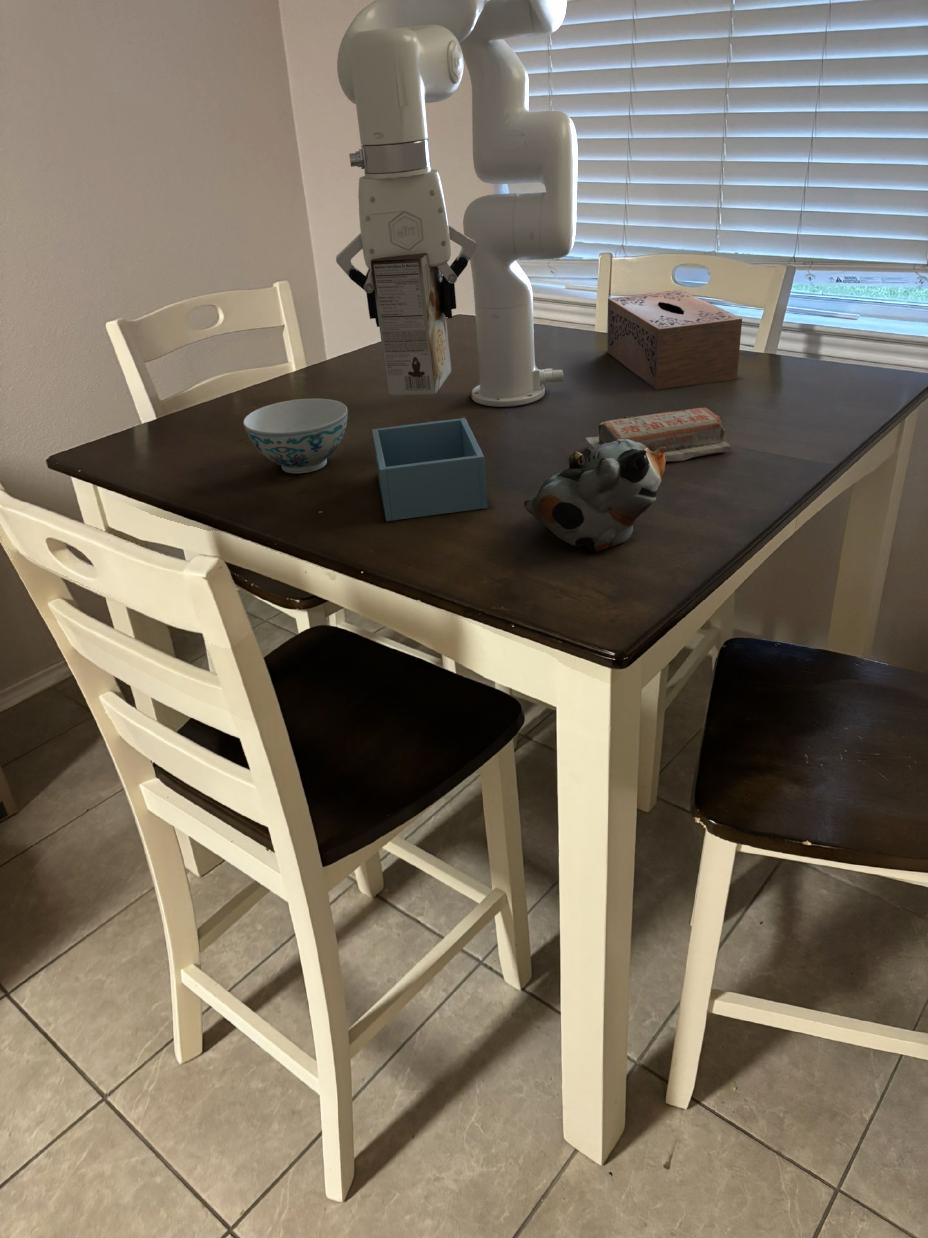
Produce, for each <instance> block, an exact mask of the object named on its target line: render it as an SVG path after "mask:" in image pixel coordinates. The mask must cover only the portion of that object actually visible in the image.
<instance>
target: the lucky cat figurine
mask: <svg viewBox="0 0 928 1238" xmlns="http://www.w3.org/2000/svg"><path fill="white" fill-rule="evenodd" d="M665 452H666V447H660V448H658V449H657V450H655V451H654V452H652V451H651V450H649V449H648V448H647V447H646V446H645V445H643V444H642V443H639V442H634V441H632V440H628V439H618V440H617V441H613V442H610V443H605V444H602V445H600V446H599V447H597V449H595V450H593V451H592V452H591V451H590V454H589V455H588V456H587V458H586V461H585V456H584V454H583V453H581V452H579V451H575V452H574V453H572V454H571V455H570V456H569V457H568V464H569V466H568V467H567V468H565V469H563V470H562V471H559V472H555V473H553V474H551V475H550V476H549V477H548V478H546V479H545V480H544V482H543V483H542V485H541V487H540V488H539V490H538V492H537V494H536V495H535V496H534V497H530V498H528V499H526V500H524V503H523V504H524V505H523V506H524V508H525V510H526V511H527V512H528V513H529V514H530V515H531V516H532V517H533V518H535V519H536V520H537V521H538V522H540V523H541V524H542V525H543V526H545V527H546V528H547V529H548V530H549V531H550V532H551V533H552V534H553V535H555V536H556V537H557V538H559V539H561V540H563V541H564V542H565V543H567V544H569V545H571V546H573V547H577V548H578V547H581V546H586V548H587V549H588V551H589V552H590V553H591V552H594V553H599V552H601V551H604V550H606V549H609V548H612V547H614V546H617V545H620V544H623V543H625V542H627V541H629V539H630V538H631V536H632V534H633V533H634V524H635V521H636V520H637V518H638V517H639V516H641V514H642V513H644V512H647V511H648V509H649V508H650V507H651V506H652V505H653V504H654V503H655V502H656V501H657V491H658V489H659V487H660V485H661V483H662V477H663V475H664V473H665V470H666V462H665V456H664V453H665Z"/></svg>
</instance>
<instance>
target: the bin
mask: <svg viewBox="0 0 928 1238" xmlns="http://www.w3.org/2000/svg"><path fill="white" fill-rule="evenodd" d="M371 435H372V441H373V450H374V457H375V463H376V473H377V479H378V483H379V490H380V495H381V500H382V506H383V511H384V517H385V521H386V522H392V521H399V520H406V519H407V520H408V519H414V518H421V517H422V518H423V517H429V516H436V515H444V514H451V513H452V514H453V513H458V512H467V511H474V510H476V511H477V510H481V509H483V510H484V509H488V496H487V495H488V494H487V481H486V466H485V465H486V464H485V456H484V454H483V451H482V449H481V448H480V445H479V444H478V441H477V439H476V437H475V435H474V433H473V431H472V429H471V426H470V424H469V423H468V421H467V419H466V417H461V418H453V419H452V418H451V419H444V420H443V419H442V420H436V421H428V422H421V423H411V424H403V425H396V426H388V427H387V426H385V427H379V428H372V429H371Z"/></svg>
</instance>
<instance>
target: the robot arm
mask: <svg viewBox="0 0 928 1238" xmlns="http://www.w3.org/2000/svg"><path fill="white" fill-rule="evenodd" d="M567 3H568V0H374V1H372V2H370V3H368V4H367V5H366V6H365V7H363V8H362V9H361V10H360V11H359V12H358V13H357V14H356V15H355V17H354V19H353V20H352V21H351V23H350V24H349V26H348V27H347V28H346V31H345V33H344V34H343V37H342V39H341V42H340V44H339V48H338V52H337V59H336V70H337V71H336V72H337V78H338V82H339V86H340V88H341V91H342V92H343V94H344V96H345V97H346V98H347V99H348V100H349V101H350V102H351V103H353V105H355V107H356V115H357V116H356V117H357V124H358V133H359V140H360V148H358V150H357V151H355V152H351V153H349V154H348V155H349V157H348V158H349V162H350V163H349V164H350V167H351V168H354V167H357V168H360V169H361V170H363V172H364V175H363V176H360V177H359V179H358V191H357V193H358V194H357V195H358V196H357V197H358V215H359V217H358V218H359V229H360V233H359V234H357V235H356V237H355V238H354V239H353V240H351V241H350V242H349V243H348V244H347V245H346V246H345V247H344V248H343V249H341V251H340V252H338V253H337V254H336V256H335V261H336V263H337V265H338V266H339V267H340V268H341V269H342V271H343V272H344V274H346V276H347V277H349V279H350V280H351V281H352V282H353V283H355V284H356V285H357V286H358V287H359V288H361V289H362V290H363V291H364V292H365V293H366V300H367V302H366V303H367V310H368V315H369V319H370V320H373V319H374V320H375V324H376V327H377V328H379V320H378V313H377V305H376V298H375V290H374V283H373V276H372V268H371V262H370V261H371V260H372V259H378V258H384V257H392V256H401V255H412V254H420V253H427V254H428V258H429V265H430V267H435V266H437V267H438V269H439V270H440V271H441V273H442V278H443V280H442V281H441V292H442V303H443V313H444V315H445V316H446V319H452V318H453V311H452V310H456V309H457V299H456V298H457V296H456V287H455V285H456V284H455V283H456V282H457V281H458V278H459V277H460V275H461V274H462V273H463V272H464V270H465V269H466V268H467V267H468V264H469V263H470V269H471V278H472V289H473V303H474V316H475V330H476V331H475V332H476V345H477V348H476V349H477V362H478V375H479V384H478V385H476V386H475V387H474V388H472V389H471V392H470V393H471V399H472V400H473V401H474V402H475V403H476V404H478V405H482V406H487V407H496V408H498V407H499V408H503V407H505V408H506V407H507V408H509V407H517V406H524V405H527V404H531V403H534V402H537V401H539V400H541V399H542V398H543V397H544V396H545V394H546V389H545V388H546V387H545V385H546V383H550V382H551V383H557V382H558V383H559V382H563V381H564V372H563V369H553V368H550V367H549V368H544V369H539V368H538V367H537V365H536V360H535V357H536V355H535V331H534V329H535V328H534V327H535V326H534V300H533V299H534V298H533V297H534V295H533V287H532V284H531V282H530V279H529V277H528V276H527V274H526V273H525V271H524V270H523V268H522V267H521V265H520V264H519V263H518V262H519V261H525V260H526V261H527V260H528V261H529V260H533V261H534V260H555V259H558V260H559V259H562V258H565V257H567V256H568V255H569V254H570V253H571V251H572V250H573V247H574V244H575V240H576V231H577V202H578V201H577V198H578V197H577V196H578V193H577V191H578V161H579V160H578V159H579V158H578V157H579V156H578V136H577V130H576V126H575V123H574V122H573V120H572V118H571V117H570V116H569V115H568V114H567V113H565V112H564V111H560V110H559V111H558V110H542V111H540V110H539V111H530V107H529V87H530V86H529V85H530V84H529V83H530V81H529V75H528V72H527V69H526V67H525V66H524V64H523V62H522V61H521V59H520V58H519V56H518V55H517V53H516V52H515V51H514V50H513V48H511V46H510V45H509V44H508V42H506V41H505V40H512V39H522V38H523V39H524V38H532V37H541V36H542V37H543V36H547V35H551V34H553V33H555V32H556V31H557V30H559V28H560V27H561V25H562V24H563V22H564V19H565V17H566V11H567ZM464 63H465V66H466V68H467V71H468V74H469V79H470V84H471V108H472V109H471V110H472V111H471V118H472V119H471V120H472V121H471V124H472V125H471V127H472V128H471V130H472V162H473V163H472V164H473V169H474V172H475V175H476V177H477V178H478V179H479V180H480V181H481V182H483V183H485V184H489V185H517V184H518V185H519V184H520V185H521V184H542V185H544V187H545V191H544V192H543V191H541V192H523V193H522V192H513V193H512V192H511V193H509V192H508V193H494V194H487V195H486V194H485V195H483V196H480V197H478V198H475V199H473V201H471V202H470V203H469V204H468V206H467V207H466V208H465V211H464V214H463V219H462V227H463V233H462V232H461V231H459V230H457V229H456V228H454V227H453V226H451V225H449V221H448V213H447V207H446V200H445V194H444V189H443V184H442V180H441V176H440V173H439V170H437V169H432V167H431V164H432V163H431V155H430V143H429V135H428V124H427V113H426V111H427V110H426V104H433V103H439V102H442V101H445V100H447V99H449V98H450V97H451V96H453V95H454V94H455V92H456V91H457V90H458V88H459V86H460V84H461V83H462V78H463V74H464V68H465V67H464ZM451 241H452V242H454V243H455V244H457V245H459V246H460V247H461V249H460V251H459V254H458V255H457V256H456V258H455V259H454V260H453V262H452V263H451V264H450V265H449V264H448V262H449V261H450V260H451V256H452V248H451ZM361 250H362V255H363V259H364V263H365V267H367V271H366V273H365V274H364V273H363V272H362V271H361V270H359V269H358V268H357V267H356V266H355V265H354V264H353V263H352V259H353V258H354V257H356V255H358V253H360V252H361ZM517 261H518V262H517Z"/></svg>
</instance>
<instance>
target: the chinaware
mask: <svg viewBox="0 0 928 1238" xmlns="http://www.w3.org/2000/svg"><path fill="white" fill-rule="evenodd" d="M348 415H349V411H348V407H347V405H346V404H344V403H343V402H341V401H338V400H335V399H330V398H298V399H290V400H285V401H284V400H283V401H279V402H275V403H272V404H268V405H265V406H262V407H260V408H257V409H255V410H253V411H252V412H249V414H247V415H245V417H244V419H243V421H242V425H243V427H244V430H245V432H246V434H247V436H248V439H250V441H251V443H252V445H253V446H254V447H255V449H256V450H257V451H259V453H260V454H261V455H263V456H264V457H265V458H267V459H268V460H270V461H271V462H273V463H275V464H277V465H279V466H281V469H282V471H284V472H285V473H289V474H306V473H312V472H315V471H318V470H320V469H322V468H324V467H325V466H326V465H327V464H328V458H329V457H330V456H332V455H333V453H334V452H335V451H336V450H337V449H338V448H339V445H340V444H341V442H342V441H343V439H344V435H345V433H346V428H347V424H348Z"/></svg>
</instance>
